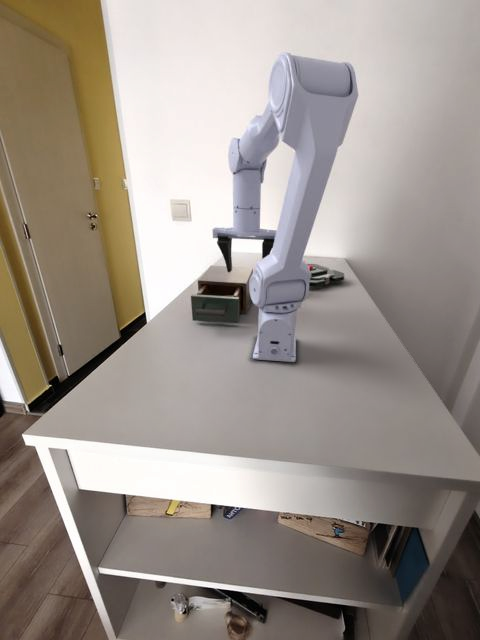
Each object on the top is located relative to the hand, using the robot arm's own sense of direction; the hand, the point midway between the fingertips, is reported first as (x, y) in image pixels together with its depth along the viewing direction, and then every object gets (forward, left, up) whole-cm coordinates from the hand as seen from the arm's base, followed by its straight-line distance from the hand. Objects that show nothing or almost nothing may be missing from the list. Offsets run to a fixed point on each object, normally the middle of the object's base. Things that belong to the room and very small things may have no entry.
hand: (246, 271), depth 76 cm
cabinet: (+7, +6, -10) cm, 14 cm away
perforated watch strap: (-2, +6, -7) cm, 10 cm away
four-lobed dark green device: (+31, -16, -11) cm, 37 cm away
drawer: (-4, +6, -10) cm, 12 cm away
